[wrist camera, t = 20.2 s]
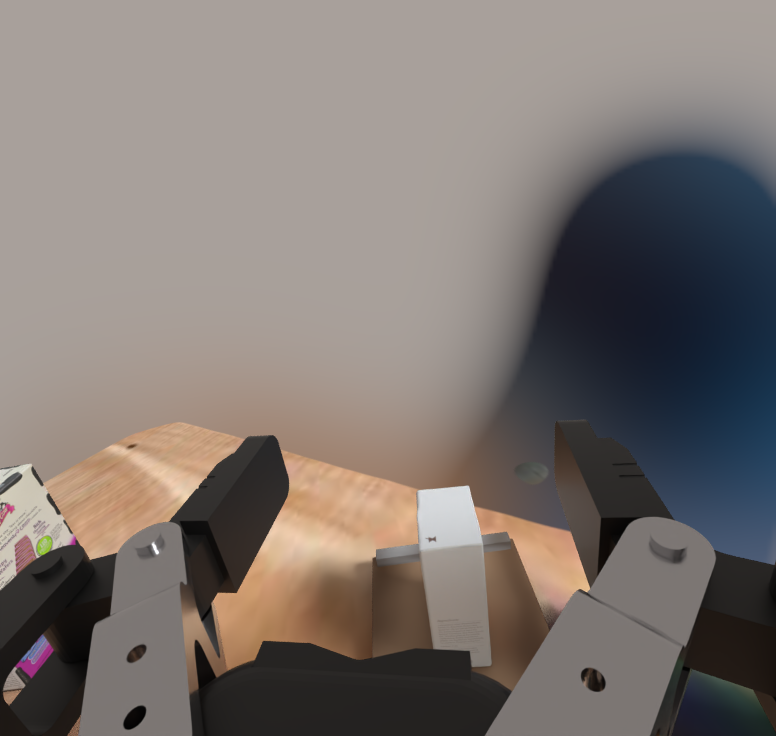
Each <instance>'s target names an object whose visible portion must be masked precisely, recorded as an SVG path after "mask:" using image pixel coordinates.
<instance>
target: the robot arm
mask: <svg viewBox="0 0 776 736" xmlns="http://www.w3.org/2000/svg"><path fill="white" fill-rule="evenodd" d="M554 449H555V450H554V451H555V452H554V456H555V457H554V473H555V482H556V488H557V492H558V495H559V498H560V501H561V504H562V507H563V510H564V513H565V516H566V518H567V522H568V524H569V527H570V530H571V533H572V536H573V539H574V542H575V545H576V548H577V551H578V554H579V557H580V560H581V563H582V566H583V568H584V571H585V574H586V577H587V580H588V583H589V586H590V590H589V591H588V592H585V591H583V590H581V589H579V590H577V591H576V592H575V593H574V594H573V595H572V597H571V598H570V600H569V601H568V603H567V604H566V606H565V608H564V609H563V611H562V612H561V614H560V616H559V617H558V619H557V621H556V622H555V624H554V625H553V627H552V629H551V630H550V632H549V633H548V635H547V637H546V638H545V640H544V641H543V643H542V645H541V646H540V648H539V649H538V651H537V653H536V654H535V656H534V657H533V659H532V661H531V662H530V664H529V665H528V667H527V669H526V670H525V672H524V673H523V675H522V677H521V678H520V680H519V682H518V683H517V685H516V686H515V688H514V690H513V691H511V690H510V689H509V688H507V687H505V686H504V685H502V684H501V683H499V682H498V681H496V680H494V679H492V678H490V677H488V676H486V675H483V674H481V673H478V672H475V671H472V665H471V656H470V651H463V650H442V649H421V648H414V649H410V650H405V651H401V652H396V653H392V654H387V655H383V656H378V657H374V658H369V659H364V660H356V659H352V658H350V657H347V656H344V655H341V654H339V653H336V652H333V651H330V650H327V649H325V648H322V647H319V646H316V645H314V644H311V643H294V642H273V641H263V642H262V645H261V647H260V650H259V652H258V654H257V657H256V659H255V660H254V661H250V662H247V663H245V664H242V665H239V666H237V667H235V668H233V669H231V670H229V671H227V667H226V662H225V656H224V650H223V645H222V639H221V634H220V628H219V623H218V617H217V612H216V608H215V605H214V603H213V600H214V598H215V596H216V595H217V593H237V591H238V589H239V587H240V586H241V584H242V582H243V580H244V578H245V576H246V574H247V572H248V570H249V568H250V567H251V565H252V563H253V561H254V559H255V557H256V555H257V553H258V551H259V550H260V548H261V546H262V544H263V542H264V540H265V538H266V536H267V534H268V532H269V531H270V529H271V527H272V525H273V523H274V521H275V519H276V517H277V515H278V514H279V512H280V510H281V508H282V506H283V504H284V502H285V500H286V498H287V496H288V491H289V478H288V474H287V471H286V467H285V464H284V460H283V457H282V454H281V450H280V447H279V443H278V440H277V439H276V437H275V436H273V435H268V436H250V437H247V438H246V439H245V441H244V442H243V443H242V444H241V445H240V447H239V448H238V449H237V450H236V452H235V453H234V454H231V455H229V456H228V457H227V458H225V459H224V460H222V461H221V462H220V463H218V464H217V465H216V466H215V467H214V469H213V470H212V471H211V472H210V473H209V475H208V476H207V479H204V480H203V482H202V483H201V484H200V485H199V489H196V490H195V491H194V492H193V494H192V495H191V496H190V497H189V498H188V500H187V501H186V502H185V503H184V504H183V505H182V507H181V508H180V509H179V510H178V511H177V513H176V514H175V515H174V516H173V517H172V519H171V520H170V521H169V522H163V523H158V524H154V525H152V526H149V527H147V528H145V529H143V530H141V531H139V532H138V533H136V534H135V535H133V536H132V537H131V538H130V539H128V540H127V541H126V542H125V543H124V544H123V546H122V547H121V548H120V550H119V551H118V553H115V554H112V555H108V556H104V557H100V558H96V559H92V560H90V559H89V557H88V555H87V554H86V552H85V550H84V548H83V547H82V546H80V545H67V546H62V547H59V548H56V549H54V550H52V551H49V552H47V553H45V554H44V555H42V556H40V557H38V558H37V559H35V560H34V561H32V562H31V563H30V564H28V565H27V566H26V567H25V568H24V569H23V570H22V571H20V572H19V573H18V574H17V575H16V576H15V577H14V578H13V579H12V580H11V581H10V582H9V583H8V584H7V585H6V586H5V587H4V588H3V589H1V590H0V736H67V735H68V733H69V732H70V730H71V729H72V727H73V726H74V724H75V723H76V721H77V720H78V718H79V717H80V715H81V720H80V727H79V734H78V736H671V734H672V731H673V728H674V725H675V722H676V719H677V716H678V712H679V709H680V706H681V703H682V700H683V697H684V694H685V691H686V688H687V685H688V681H689V678H690V675H691V672H692V669H693V670H696V671H699V672H702V673H705V674H708V675H711V676H714V677H717V678H720V679H723V680H726V681H729V682H732V683H735V684H738V685H741V686H744V687H747V688H750V689H753V690H754V692H755V694H756V696H757V698H758V700H759V702H760V704H761V705H762V707H763V709H764V711H765V713H766V715H767V717H768V719H769V721H770V722H771V724H772V726H773V728H774V730H775V732H776V562H775V565H771V564H767V563H762V562H758V561H754V560H749V559H745V558H740V557H736V556H732V555H728V554H724V553H721V552H718V551H716V550H713V547H712V546H711V544H710V543H709V542H708V541H707V540H706V539H705V538H704V537H703V536H702V535H701V534H700V533H699V532H697V531H696V530H694V529H692V528H691V527H689V526H687V525H685V524H682V523H680V522H677V521H675V520H674V519H673V517H672V516H671V514H670V513H669V511H668V510H667V508H666V506H665V505H664V503H663V502H662V501H661V499H660V497H659V496H658V494H657V493H656V491H655V490H654V488H653V487H652V485H651V484H650V482H649V481H648V479H647V478H645V476H644V473H643V472H642V470H641V469H640V467H639V466H637V463H636V461H635V460H634V458H633V457H632V455H631V453H630V452H629V450H628V449H627V448H625V447H624V446H622V445H621V444H619V443H618V442H616V441H615V440H614V439H612V438H597V437H596V435H595V433H594V431H593V430H592V428H591V426H590V424H589V423H588V421H587V420H571V421H556V423H555V445H554ZM42 635H44V637H45V638H46V640H47V641H48V643H49V644H50V645H51V647H52V648H53V650H54V651H53V652H52V653H51V655H50V656H49V657H48V658H47V660H46V661H45V662H44V663H43V665H42V666H41V667H40V668H39V670H38V671H37V672H36V673H35V674H34V676H33V677H32V678H31V679H30V681H29V682H28V683H27V684H26V686H25V687H24V688H23V689H22V691H21V692H20V693H19V694H18V696H17V697H16V698H15V699H14V701H13V702H12V703H11V704H10V706H8V704H7V703H6V702H5V700H4V698H3V688H4V685H5V682H6V680H7V678H8V676H9V674H10V672H11V671H12V670H13V669H14V667H15V666H16V665H17V664H18V663H19V661H20V660H21V659H22V658H23V657H24V656H25V654H26V653H27V652H28V651H29V650H30V649H31V647H32V646H33V645H34V644H35V643H36V642H37V640H38V639H39V638H40V637H41V636H42Z"/></svg>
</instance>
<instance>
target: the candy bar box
mask: <svg viewBox="0 0 776 736" xmlns="http://www.w3.org/2000/svg"><path fill="white" fill-rule="evenodd" d="M67 545H80V544H79V542H78V541H77V539H76V537H75V536H74V534H73V532H72V531H71V530H70V528H69V526H68V525H67V523H66V521H65V519H64V517H63V516H62V514H61V512H60V511H59V509H58V507H57V506H56V504H55V502H54V501H53V499H52V498H51V496H50V494H49V493H48V491H47V489H46V488H45V486H44V484H43V483H42V481H41V479H40V478H39V476H38V474H37V473H36V471H35V470H34V468H33V466H32V464H25V465H19V466H14V467H7V468H1V469H0V590H1V589H3V588H4V587H5V586H6V585H7V584H8V583H9V582H10V581H11V580H12V579H13V578H14V577H15V576H16V575H17V574H18V573H19V572H20V571H22V570H23V569H24V568H25V567H26V566H27V565H28V564H30V563H31V562H32V561H34V560H35V559H37V558H38V557H40V556H42V555H44V554H45V553H47V552H49V551H52V550H54V549H56V548H59V547H62V546H67ZM53 651H54V650H53V648H52V647H51V645H50V644H49V643H48V641H47V640H46V638H45V637H44V635H42V636H41V637H40V638H39V639H38V640H37V642H36V643H35V644H34V645H33V646H32V647H31V649H30V650H29V651H28V652H27V653H26V654H25V656H24V657H23V658H22V659H21V660H20V661H19V663H18V664H17V665H16V666H15V667H14V669H13V670H12V671H11V672H10V674H9V676H8V678H7V680H6V682H5V685H4V688H3V692H5V691H11V690H19V689H23V688H24V687H25V686H26V684H27V683H28V682H29V681H30V679H31V678H32V677H33V676H34V674H35V673H36V672H37V671H38V670H39V668H40V667H41V666H42V665H43V663H44V662H45V661H46V660H47V658H48V657H49V656H50V655H51V653H52V652H53Z"/></svg>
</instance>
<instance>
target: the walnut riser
mask: <svg viewBox="0 0 776 736" xmlns="http://www.w3.org/2000/svg"><path fill="white" fill-rule="evenodd" d="M481 537H482V542H483V552H484V564H485V578H486V592H487V606H488V620H489V634H490V647H491V660H492V664H491V666H486V667H472V671H475V672H478V673H481V674H483V675H486V676H488V677H490V678H492V679H494V680H496V681H498V682H499V683H501V684H502V685H504V686H505V687H507V688H509V689H510V690H511V691H513V690H514V688H515V686H516V685H517V683H518V682H519V680H520V678H521V677H522V675H523V673H524V672H525V670H526V669H527V667H528V665H529V664H530V662H531V661H532V659H533V657H534V656H535V654H536V653H537V651H538V649H539V648H540V646H541V645H542V643H543V641H544V640H545V638H546V637H547V635H548V633H549V632H550V630H549V628H548V625H547V623H546V621H545V618H544V616H543V613H542V611H541V608H540V606H539V603H538V601H537V598H536V596H535V593H534V591H533V588H532V586H531V583H530V581H529V579H528V576H527V574H526V571H525V569H524V566H523V564H522V561H521V559H520V556H519V554H518V551H517V549H516V546H515V544H514V542H513V539H510V538H509V536H508V533H507V532H502V533H494V534H487V535H481ZM414 648H421V649H433V643H432V636H431V629H430V622H429V615H428V609H427V602H426V595H425V589H424V582H423V576H422V570H421V562H420V554H419V544H414V545H407V546H400V547H392V548H385V549H378V550H376V557H375V558H373V622H372V658H374V657H378V656H383V655H387V654H392V653H396V652H401V651H405V650H410V649H414Z"/></svg>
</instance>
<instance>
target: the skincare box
mask: <svg viewBox="0 0 776 736" xmlns="http://www.w3.org/2000/svg"><path fill="white" fill-rule="evenodd" d="M416 495H417V522H418V543H419V554H420V562H421V570H422V576H423V582H424V589H425V595H426V602H427V609H428V615H429V622H430V629H431V636H432V643H433V649H442V650H463V651H470V656H471V665H472V667H486V666H491V664H492V660H491V647H490V634H489V620H488V606H487V592H486V578H485V564H484V552H483V542H482V537H481V532H480V527H479V523H478V520H477V516H476V513H475V509H474V505H473V501H472V497H471V493H470V489H469V486H460V487H451V488H440V489H428V490H418V491H417V493H416Z"/></svg>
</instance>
